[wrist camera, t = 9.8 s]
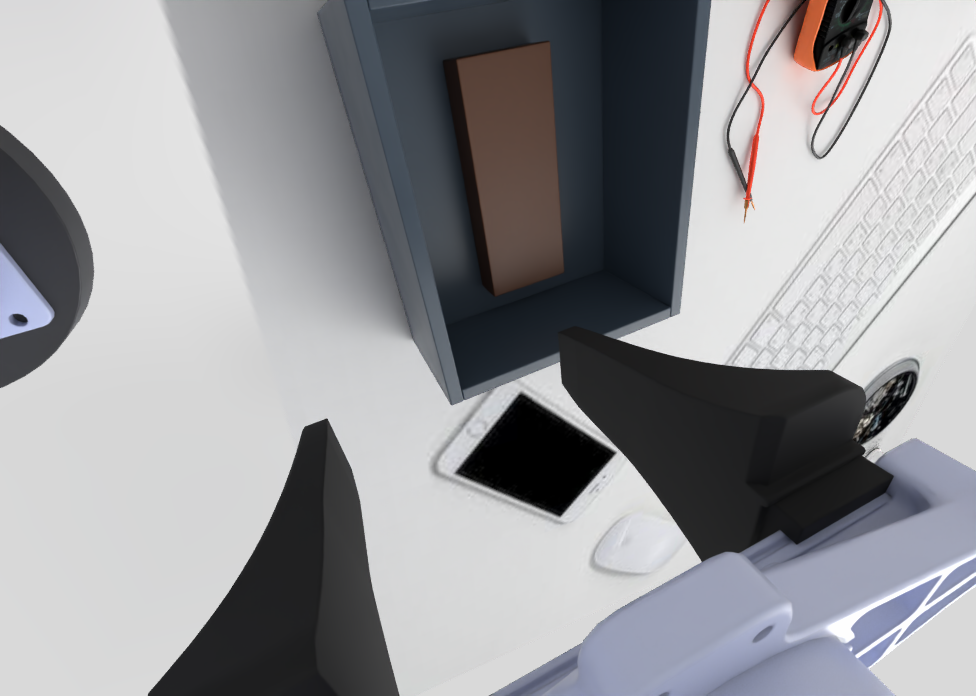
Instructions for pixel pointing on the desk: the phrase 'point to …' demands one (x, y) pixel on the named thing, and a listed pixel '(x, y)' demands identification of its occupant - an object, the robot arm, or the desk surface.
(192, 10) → the desk surface
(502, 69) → the brown rectangular block
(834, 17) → the multimeter
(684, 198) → the open box
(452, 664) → the desk surface
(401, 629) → the desk surface
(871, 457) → the chess pawn
